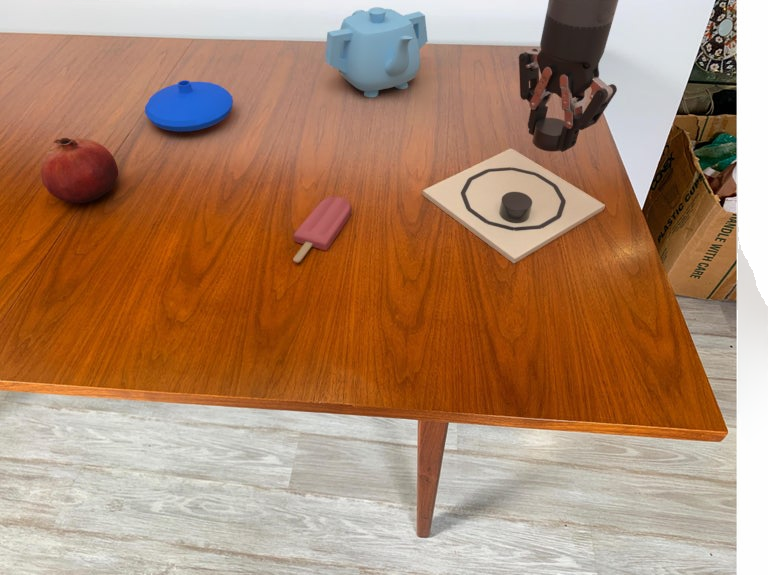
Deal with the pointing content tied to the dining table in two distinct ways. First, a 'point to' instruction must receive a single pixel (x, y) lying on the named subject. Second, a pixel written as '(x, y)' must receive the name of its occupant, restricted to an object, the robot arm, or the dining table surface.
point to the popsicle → (322, 225)
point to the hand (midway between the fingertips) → (549, 140)
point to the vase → (189, 106)
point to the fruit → (78, 170)
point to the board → (503, 175)
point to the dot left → (515, 207)
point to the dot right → (548, 134)
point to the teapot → (377, 49)
